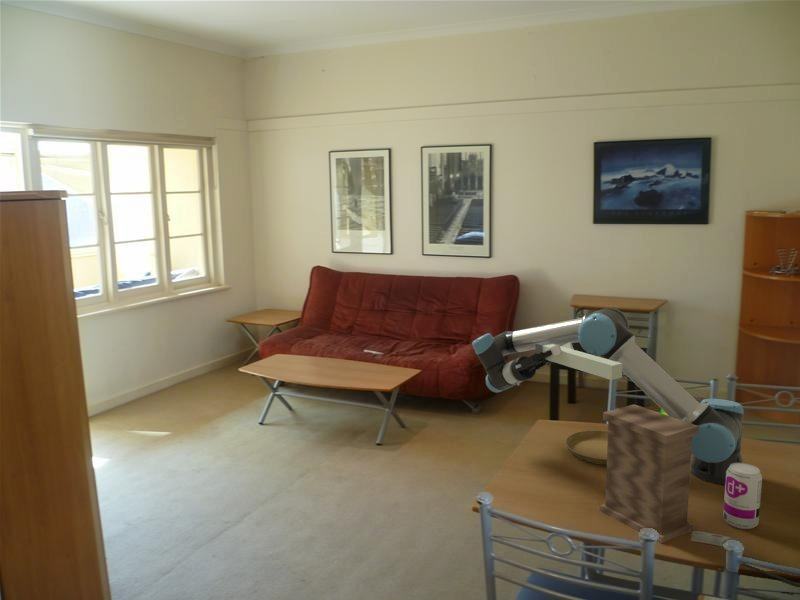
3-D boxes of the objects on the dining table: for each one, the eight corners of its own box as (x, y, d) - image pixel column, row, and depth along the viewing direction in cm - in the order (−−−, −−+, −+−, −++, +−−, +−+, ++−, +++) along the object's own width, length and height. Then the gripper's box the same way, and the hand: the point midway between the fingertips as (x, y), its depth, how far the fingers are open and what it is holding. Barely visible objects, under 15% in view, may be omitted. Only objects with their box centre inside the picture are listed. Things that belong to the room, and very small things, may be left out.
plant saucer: (633, 474, 205) (633, 464, 204) (556, 459, 217) (556, 450, 216) (647, 446, 225) (647, 437, 225) (576, 434, 237) (576, 426, 237)
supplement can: (742, 533, 169) (747, 477, 167) (716, 518, 177) (719, 465, 174) (765, 526, 172) (769, 471, 170) (738, 512, 180) (741, 459, 177)
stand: (599, 510, 182) (603, 412, 177) (630, 499, 188) (634, 404, 183) (661, 543, 165) (666, 436, 160) (692, 530, 171) (698, 426, 166)
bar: (535, 356, 204) (535, 343, 204) (545, 354, 207) (545, 341, 206) (611, 380, 179) (611, 365, 178) (622, 377, 181) (622, 362, 180)
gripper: (543, 377, 218) (591, 355, 199) (502, 385, 210) (548, 364, 190) (536, 355, 220) (582, 331, 201) (495, 363, 212) (539, 339, 192)
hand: (565, 347), depth 196 cm, fingers closed on bar, 4 cm apart
